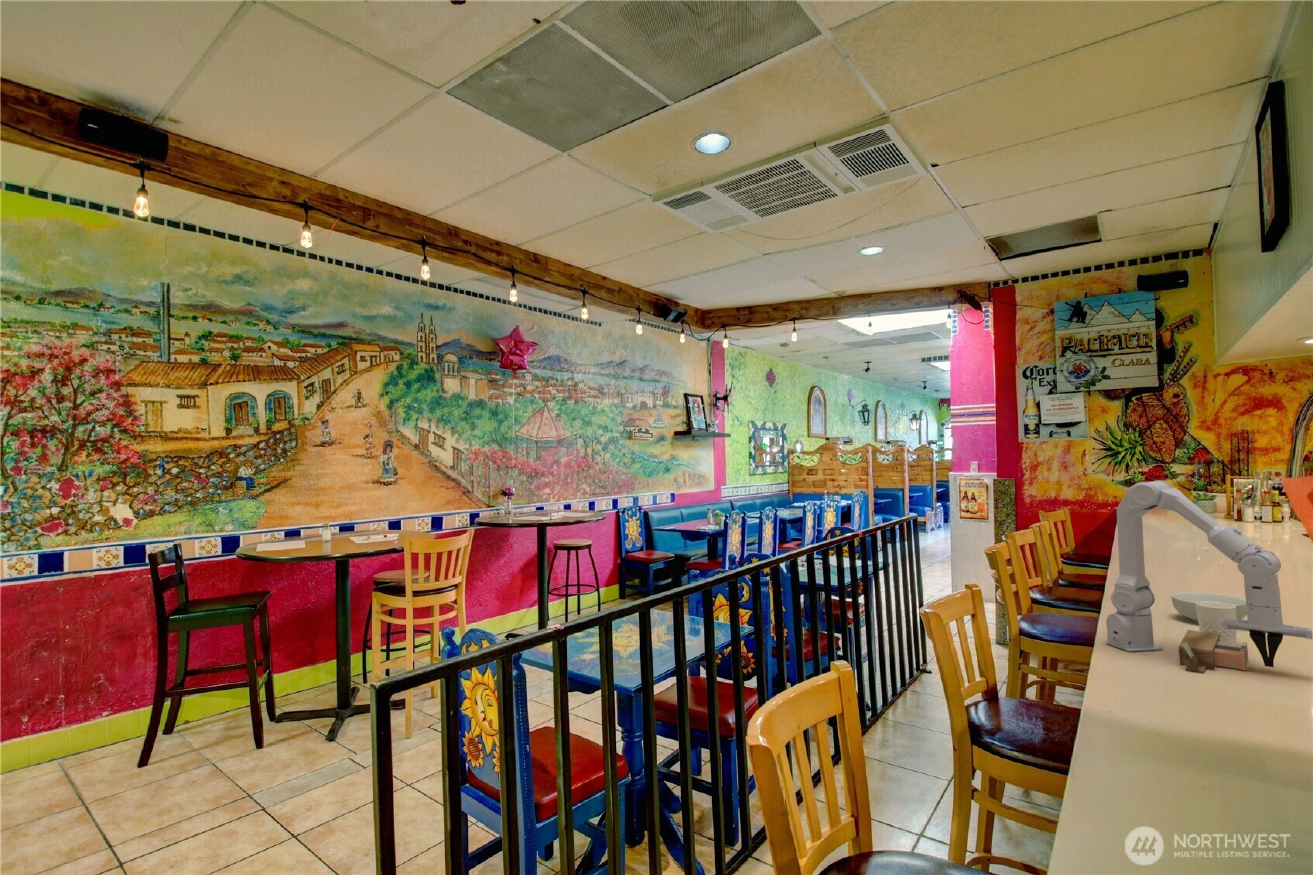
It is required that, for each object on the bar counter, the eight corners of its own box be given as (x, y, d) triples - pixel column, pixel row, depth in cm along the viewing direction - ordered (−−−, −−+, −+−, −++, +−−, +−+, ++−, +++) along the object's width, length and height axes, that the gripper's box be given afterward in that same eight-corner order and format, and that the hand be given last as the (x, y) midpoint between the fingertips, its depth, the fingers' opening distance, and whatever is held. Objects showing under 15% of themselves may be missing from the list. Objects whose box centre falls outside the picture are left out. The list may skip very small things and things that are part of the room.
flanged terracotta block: (1247, 665, 142) (1245, 649, 143) (1245, 670, 140) (1244, 653, 140) (1208, 660, 147) (1207, 644, 148) (1206, 664, 144) (1205, 648, 145)
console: (1221, 651, 154) (1219, 633, 154) (1212, 674, 139) (1210, 654, 139) (1189, 647, 158) (1188, 629, 158) (1177, 669, 143) (1176, 649, 143)
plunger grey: (1248, 658, 147) (1247, 642, 148) (1247, 662, 144) (1245, 646, 145) (1211, 653, 152) (1209, 637, 152) (1209, 657, 149) (1208, 641, 149)
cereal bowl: (1161, 620, 184) (1159, 596, 185) (1191, 612, 191) (1188, 589, 192) (1233, 632, 169) (1230, 606, 169) (1262, 623, 176) (1259, 598, 176)
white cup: (1247, 647, 156) (1243, 608, 156) (1211, 647, 157) (1208, 608, 158) (1225, 639, 164) (1222, 601, 164) (1191, 638, 165) (1188, 601, 166)
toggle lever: (1199, 660, 143) (1187, 641, 144) (1198, 663, 141) (1186, 644, 142) (1194, 661, 143) (1182, 643, 145) (1193, 664, 142) (1181, 645, 143)
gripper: (1309, 605, 137) (1315, 667, 136) (1221, 597, 147) (1226, 655, 146) (1309, 611, 132) (1316, 676, 131) (1218, 603, 142) (1224, 662, 142)
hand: (1269, 665), depth 138 cm, fingers closed
